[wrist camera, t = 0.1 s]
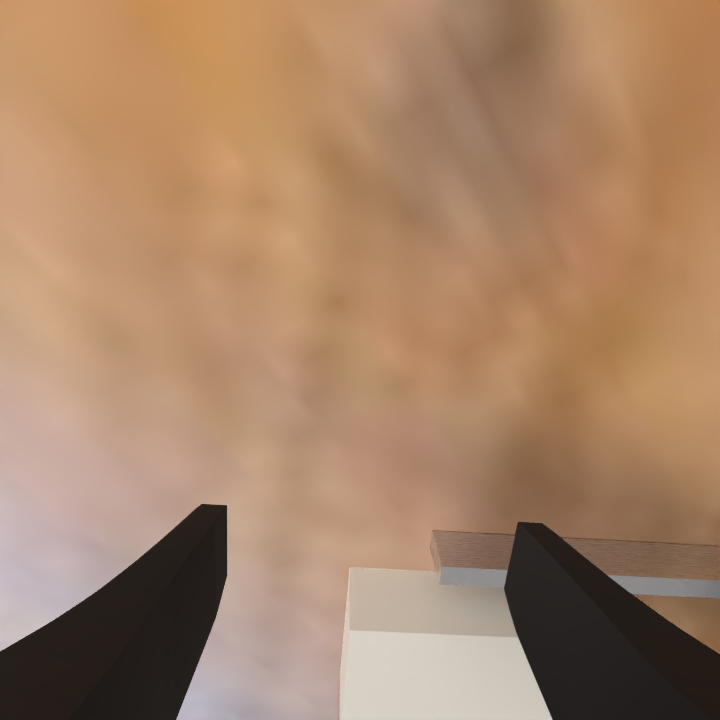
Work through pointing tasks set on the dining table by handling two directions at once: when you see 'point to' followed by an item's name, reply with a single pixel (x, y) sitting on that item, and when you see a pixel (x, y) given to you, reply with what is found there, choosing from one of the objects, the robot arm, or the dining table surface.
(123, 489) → the dining table surface
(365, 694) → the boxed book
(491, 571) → the shelf slot
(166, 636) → the robot arm
